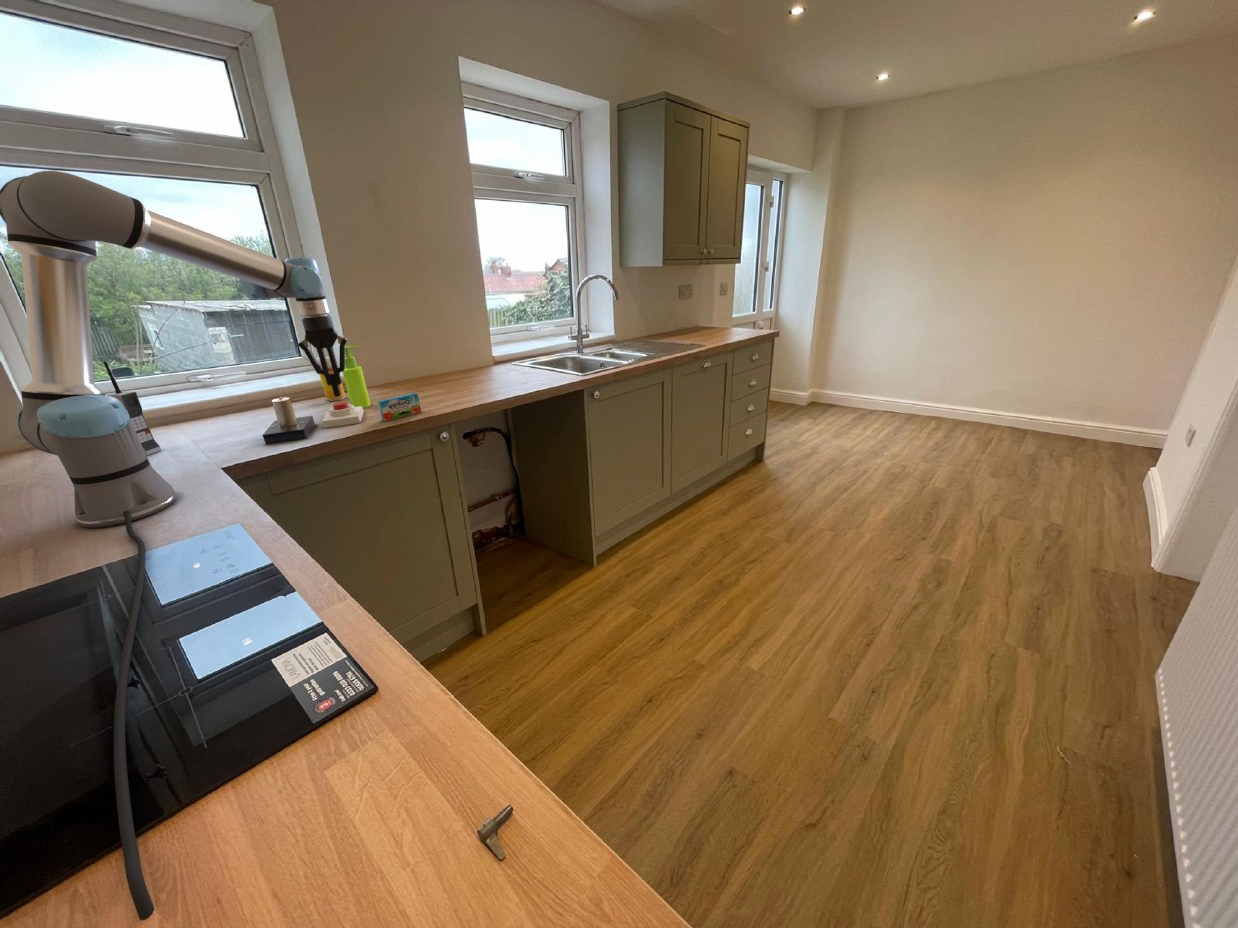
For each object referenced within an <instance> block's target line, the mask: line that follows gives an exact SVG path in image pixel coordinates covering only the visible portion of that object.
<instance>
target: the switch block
mask: <svg viewBox="0 0 1238 928" xmlns="http://www.w3.org/2000/svg"><path fill="white" fill-rule="evenodd" d="M348 407H349V408H346V409H342V410H334V407H333V406H332V407H330V408H328V410H327V411H326V412H325V414H324V417H323V418H322V420H321V424H322V427H323V429H327V428H333V427H338V426H339V427H340V426H349V425H354V424H355V425H356V424H361V421H362V419H363V415H364V408H362V406H359V407H354V405H351V404H348Z"/></svg>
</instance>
